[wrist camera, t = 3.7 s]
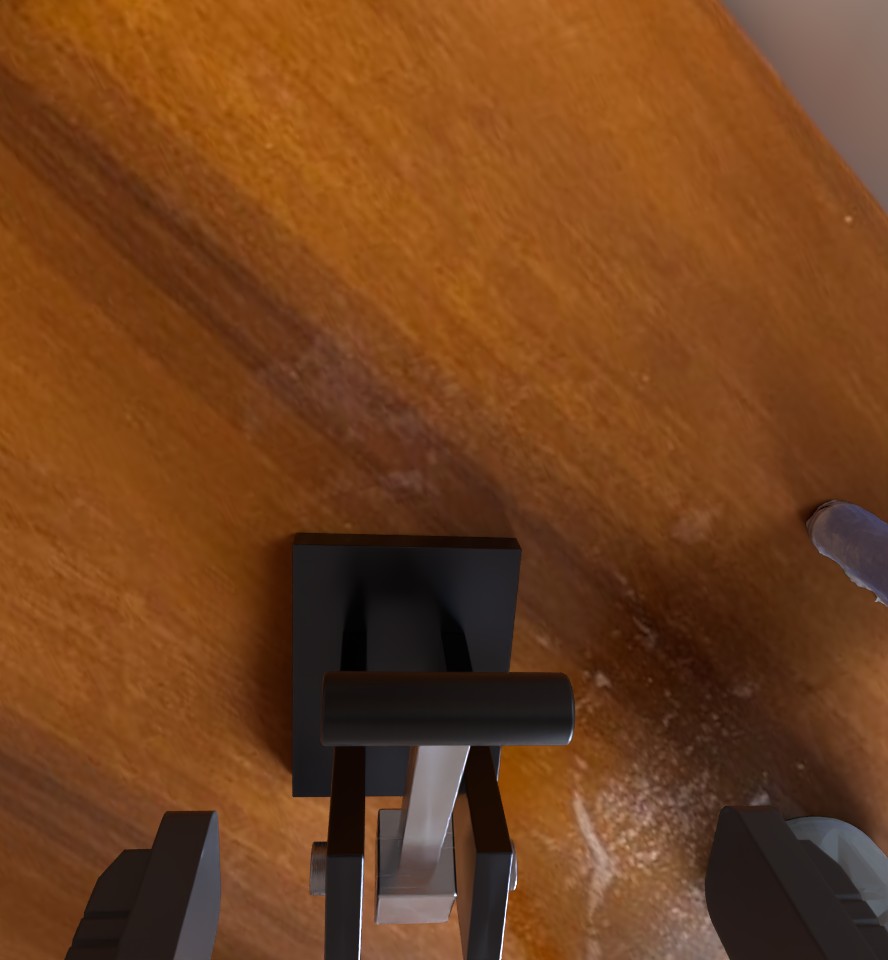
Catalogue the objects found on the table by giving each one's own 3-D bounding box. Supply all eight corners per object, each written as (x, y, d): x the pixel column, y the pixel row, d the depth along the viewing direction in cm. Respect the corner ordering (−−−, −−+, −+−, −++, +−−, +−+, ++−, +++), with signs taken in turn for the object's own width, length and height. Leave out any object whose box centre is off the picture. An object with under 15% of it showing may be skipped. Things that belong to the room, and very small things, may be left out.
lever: (325, 636, 16) (318, 750, 14) (565, 639, 16) (584, 749, 15) (331, 841, 25) (326, 926, 23) (486, 838, 25) (493, 921, 23)
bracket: (295, 532, 31) (245, 735, 19) (516, 537, 32) (604, 734, 20) (294, 778, 35) (253, 1078, 23) (492, 777, 36) (553, 1064, 24)
